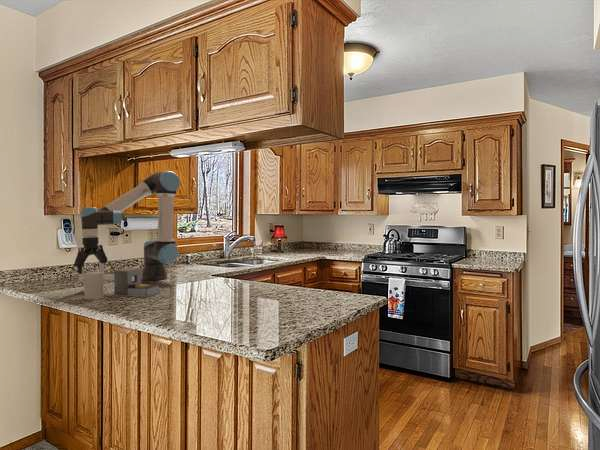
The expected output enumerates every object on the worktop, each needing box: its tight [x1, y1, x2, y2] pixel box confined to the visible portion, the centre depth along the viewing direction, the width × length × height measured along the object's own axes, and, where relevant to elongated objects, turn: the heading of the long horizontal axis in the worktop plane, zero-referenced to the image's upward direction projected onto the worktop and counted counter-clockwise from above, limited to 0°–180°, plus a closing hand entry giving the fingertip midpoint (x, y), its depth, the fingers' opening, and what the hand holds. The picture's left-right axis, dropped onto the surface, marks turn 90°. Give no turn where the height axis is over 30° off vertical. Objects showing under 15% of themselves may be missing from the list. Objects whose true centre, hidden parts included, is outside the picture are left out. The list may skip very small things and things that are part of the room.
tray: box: [127, 285, 161, 298], centre depth 211 cm, size 10×11×4 cm
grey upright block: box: [83, 271, 104, 300], centre depth 203 cm, size 8×8×12 cm
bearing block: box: [113, 267, 142, 297], centre depth 214 cm, size 10×8×12 cm
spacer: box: [135, 283, 149, 289], centre depth 212 cm, size 5×4×4 cm
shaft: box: [84, 270, 135, 282], centre depth 218 cm, size 4×29×9 cm, turn 72°
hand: (92, 277), depth 222 cm, fingers open, 13 cm apart
